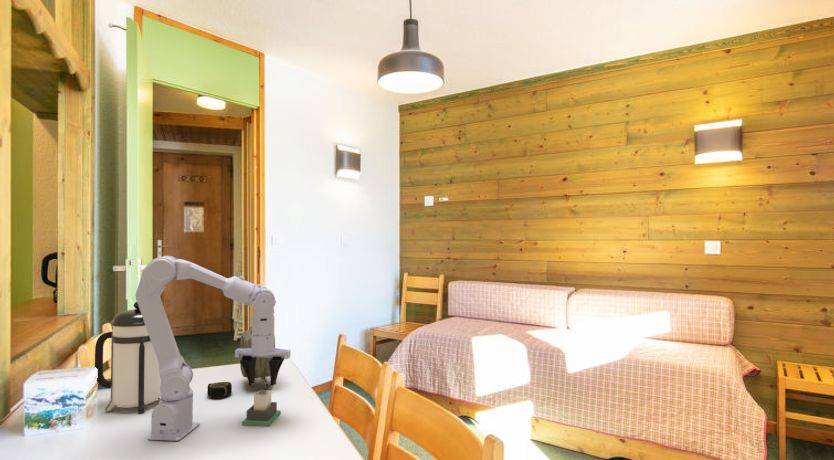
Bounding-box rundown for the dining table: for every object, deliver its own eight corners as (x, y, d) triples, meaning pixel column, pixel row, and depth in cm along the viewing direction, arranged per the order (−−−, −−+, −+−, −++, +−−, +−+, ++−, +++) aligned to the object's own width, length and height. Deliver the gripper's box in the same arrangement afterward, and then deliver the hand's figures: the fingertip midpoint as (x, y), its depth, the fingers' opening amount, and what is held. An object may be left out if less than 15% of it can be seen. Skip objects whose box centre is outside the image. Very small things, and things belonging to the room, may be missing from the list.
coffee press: (162, 391, 139) (163, 295, 139) (170, 408, 126) (171, 302, 126) (94, 404, 129) (95, 300, 129) (94, 423, 116) (96, 308, 116)
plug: (265, 418, 118) (265, 393, 118) (253, 418, 118) (253, 393, 118) (271, 412, 122) (271, 388, 122) (259, 412, 122) (259, 388, 122)
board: (269, 426, 115) (269, 412, 115) (242, 425, 116) (242, 411, 116) (280, 413, 123) (280, 401, 123) (255, 412, 124) (255, 400, 124)
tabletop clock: (274, 390, 141) (275, 311, 142) (244, 394, 137) (245, 313, 137) (267, 377, 154) (268, 304, 154) (239, 380, 150) (240, 306, 150)
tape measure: (231, 391, 141) (231, 379, 141) (231, 398, 135) (231, 386, 135) (207, 394, 138) (207, 382, 138) (206, 402, 132) (206, 389, 132)
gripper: (294, 331, 123) (293, 380, 123) (243, 329, 124) (242, 378, 124) (285, 337, 116) (284, 389, 116) (231, 335, 117) (230, 387, 117)
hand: (262, 384), depth 120 cm, fingers open, 5 cm apart
